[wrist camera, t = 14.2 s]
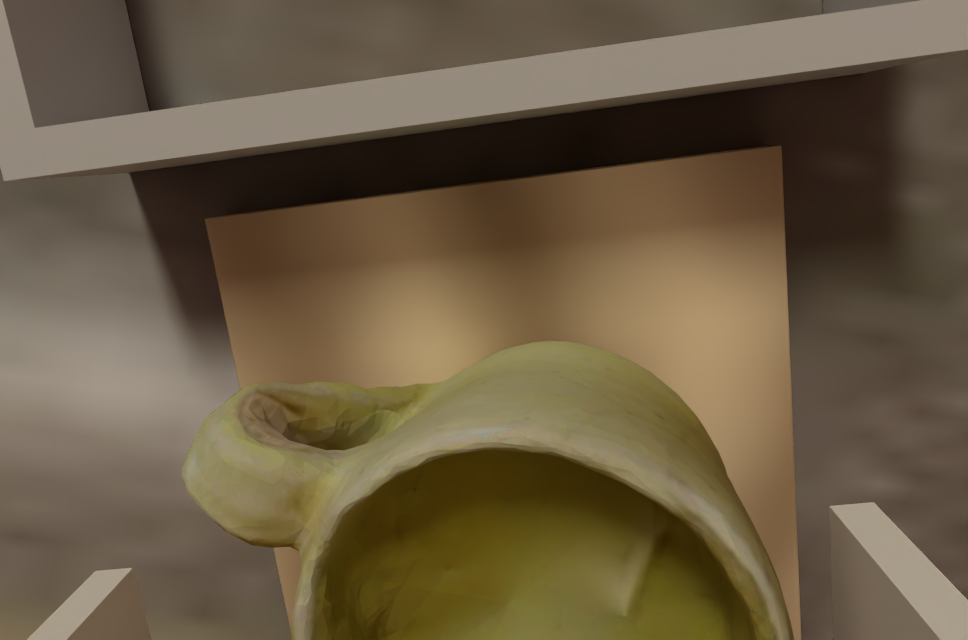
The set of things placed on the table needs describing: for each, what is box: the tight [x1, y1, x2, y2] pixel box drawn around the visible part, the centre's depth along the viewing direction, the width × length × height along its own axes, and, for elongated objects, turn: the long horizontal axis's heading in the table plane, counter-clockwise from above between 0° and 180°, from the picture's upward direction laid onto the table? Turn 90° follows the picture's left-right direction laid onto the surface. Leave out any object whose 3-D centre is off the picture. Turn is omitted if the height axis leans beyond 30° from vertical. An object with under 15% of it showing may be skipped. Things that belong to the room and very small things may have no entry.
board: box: [205, 146, 801, 640], centre depth 21 cm, size 15×15×1 cm
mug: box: [182, 341, 794, 640], centre depth 17 cm, size 12×10×10 cm
